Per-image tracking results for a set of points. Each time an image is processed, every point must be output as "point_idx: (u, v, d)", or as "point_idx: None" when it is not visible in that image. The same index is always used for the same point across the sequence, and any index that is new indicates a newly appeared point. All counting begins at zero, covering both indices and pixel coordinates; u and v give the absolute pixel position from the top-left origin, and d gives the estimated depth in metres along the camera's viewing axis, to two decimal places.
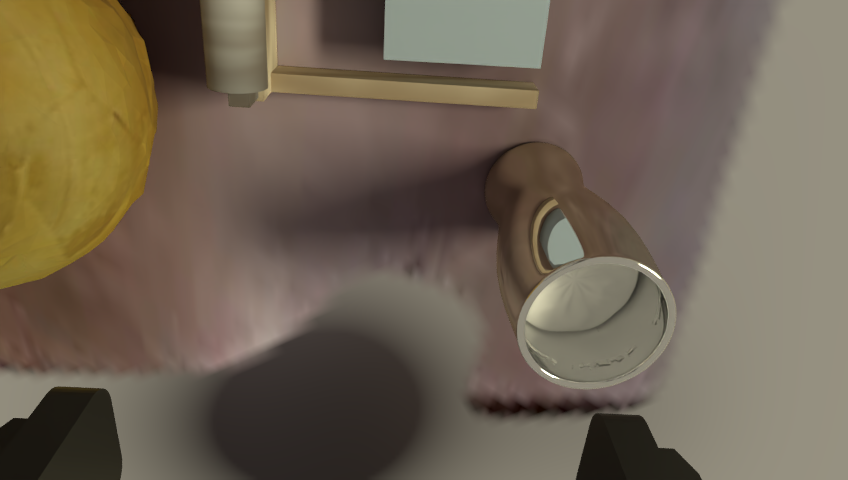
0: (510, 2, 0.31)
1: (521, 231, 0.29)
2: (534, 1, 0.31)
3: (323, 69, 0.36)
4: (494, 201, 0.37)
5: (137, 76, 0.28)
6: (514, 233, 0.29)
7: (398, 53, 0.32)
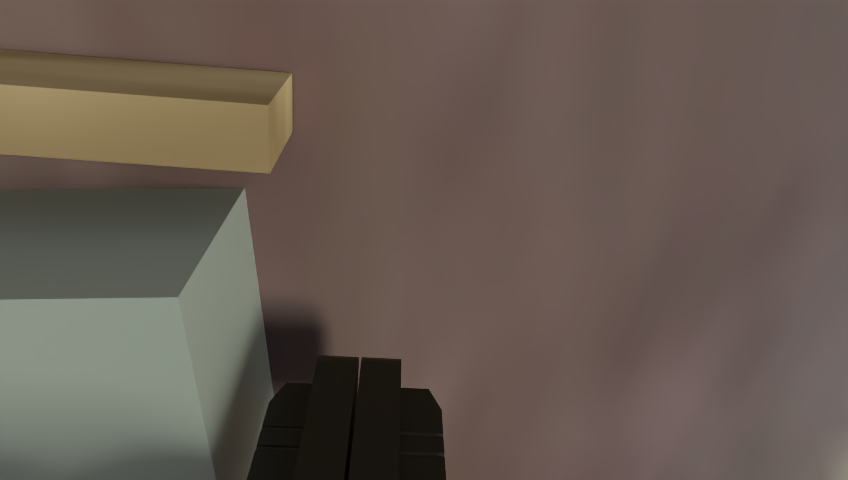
0: (83, 468, 0.09)
1: None
2: (160, 460, 0.09)
3: None
4: None
5: None
6: None
7: None
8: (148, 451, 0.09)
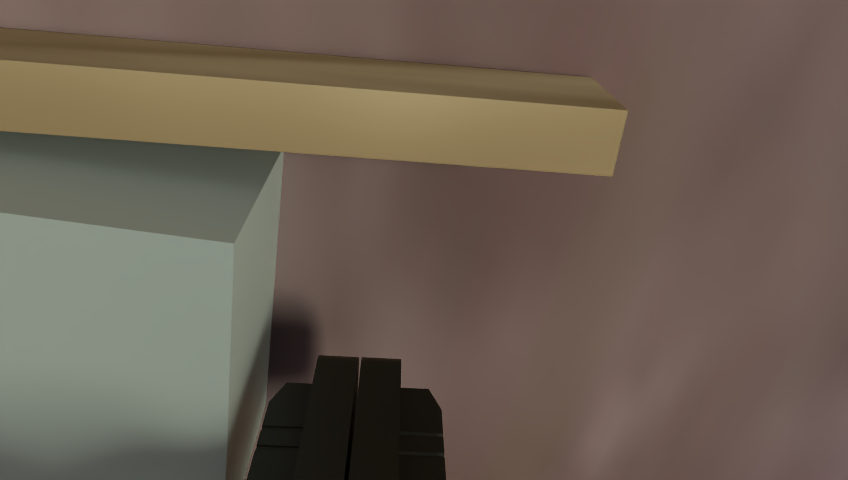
0: (92, 404, 0.09)
1: None
2: (174, 407, 0.09)
3: None
4: None
5: None
6: None
7: None
8: (164, 396, 0.09)
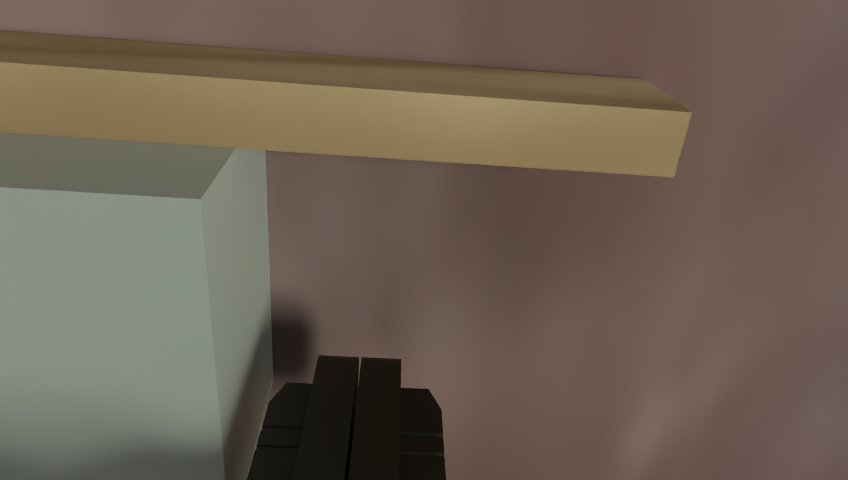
0: (77, 385, 0.09)
1: None
2: (161, 382, 0.09)
3: None
4: None
5: None
6: None
7: None
8: (149, 371, 0.09)
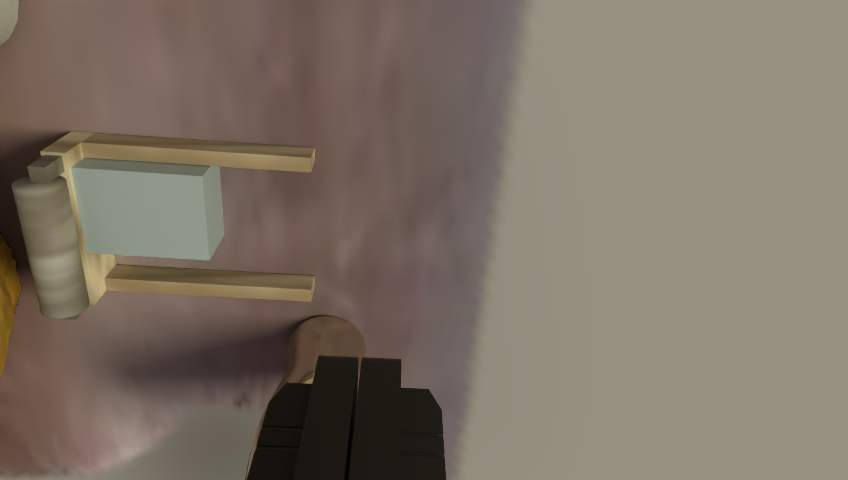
0: (175, 217, 0.41)
1: None
2: (193, 216, 0.41)
3: (150, 268, 0.47)
4: None
5: None
6: (262, 420, 0.40)
7: (97, 249, 0.42)
8: (191, 214, 0.41)
